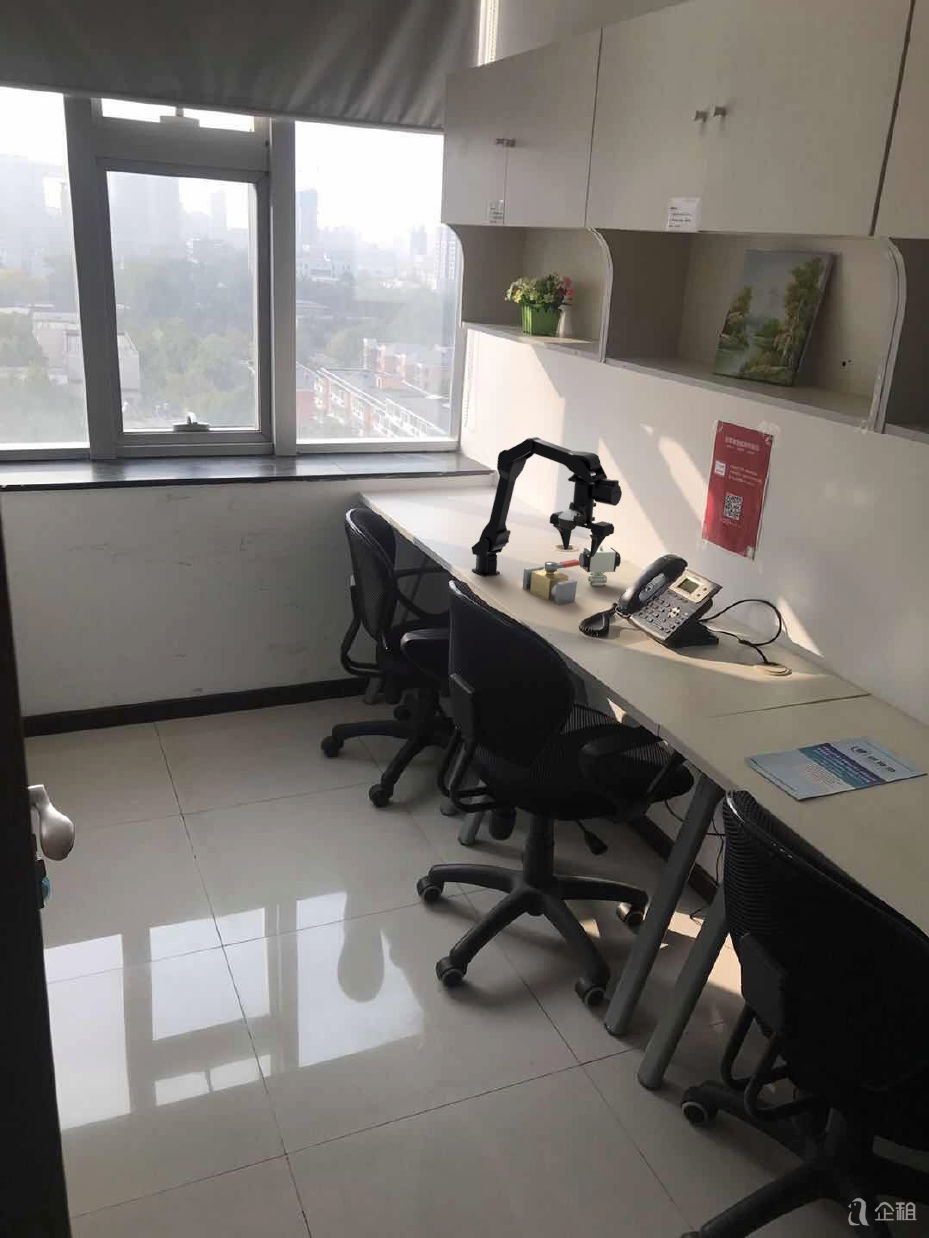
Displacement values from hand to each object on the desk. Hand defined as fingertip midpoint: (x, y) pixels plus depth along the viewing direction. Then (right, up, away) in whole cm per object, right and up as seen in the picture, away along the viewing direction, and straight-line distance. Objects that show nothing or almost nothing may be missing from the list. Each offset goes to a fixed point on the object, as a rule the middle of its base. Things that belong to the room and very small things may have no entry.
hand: (578, 553), depth 278 cm
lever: (-4, -4, +7) cm, 9 cm away
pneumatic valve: (+7, -8, +19) cm, 22 cm away
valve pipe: (-8, -12, +7) cm, 16 cm away
